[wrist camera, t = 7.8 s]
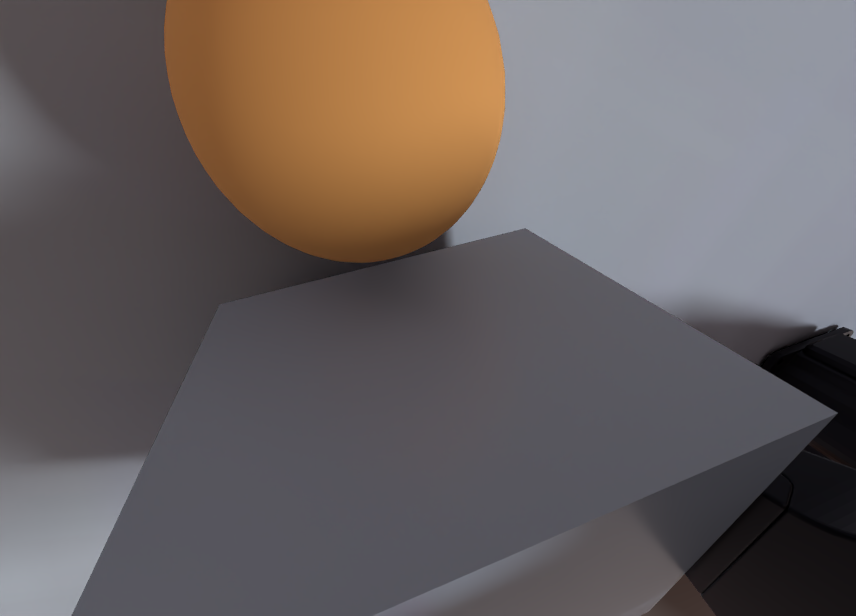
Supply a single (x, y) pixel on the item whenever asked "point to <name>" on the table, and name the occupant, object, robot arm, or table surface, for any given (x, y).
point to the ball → (341, 114)
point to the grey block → (446, 448)
